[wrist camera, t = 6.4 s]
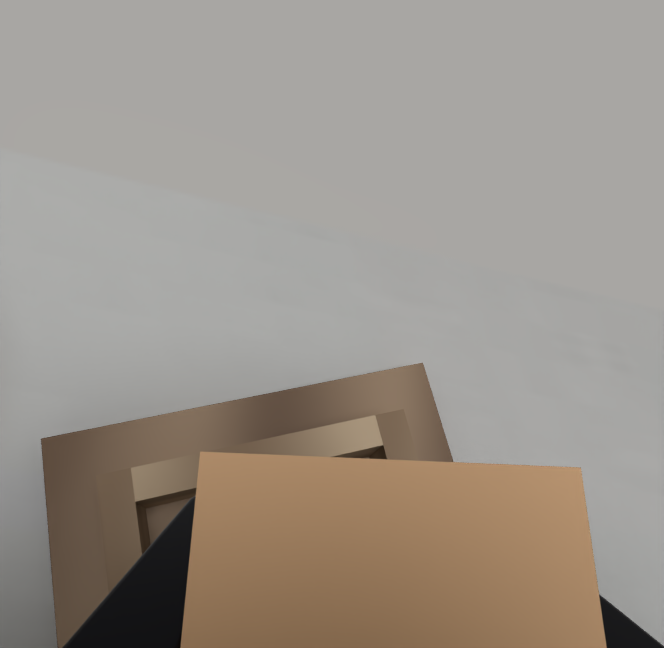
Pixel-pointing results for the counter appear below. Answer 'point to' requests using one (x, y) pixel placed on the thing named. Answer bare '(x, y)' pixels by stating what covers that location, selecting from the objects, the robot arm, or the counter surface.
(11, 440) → the counter surface
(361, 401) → the square recessed board
